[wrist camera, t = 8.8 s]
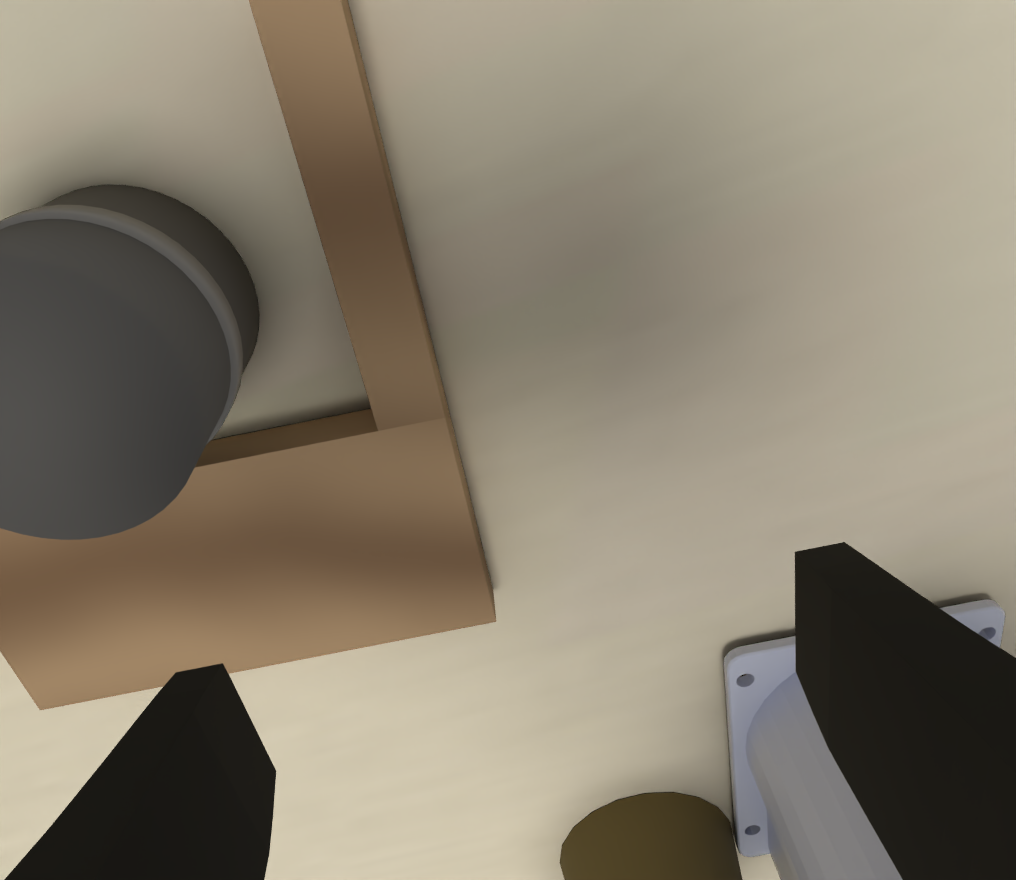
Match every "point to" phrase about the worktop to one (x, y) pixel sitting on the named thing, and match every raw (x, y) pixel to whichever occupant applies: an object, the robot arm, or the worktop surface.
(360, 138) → the brown wooden u-shaped bracket
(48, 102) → the worktop surface
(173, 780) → the robot arm
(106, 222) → the grey flanged cylinder
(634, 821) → the olive pawn
